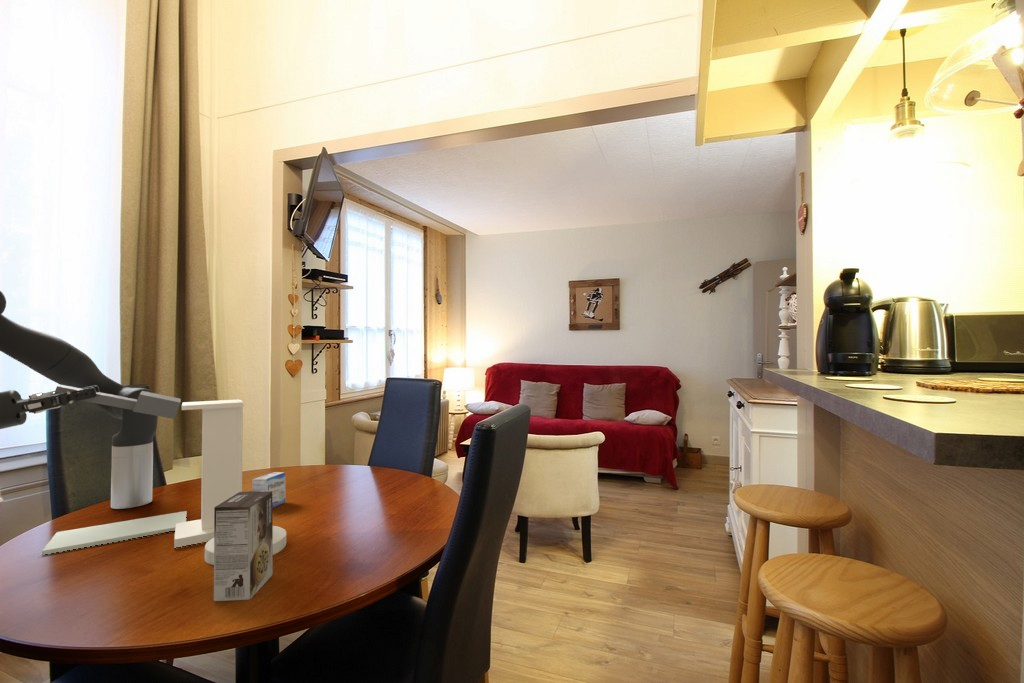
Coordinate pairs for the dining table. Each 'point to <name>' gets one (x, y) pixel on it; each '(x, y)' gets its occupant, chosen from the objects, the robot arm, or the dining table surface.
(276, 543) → the roll of tape
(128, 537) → the mat
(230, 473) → the white flanged bar
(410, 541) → the dining table surface
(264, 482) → the medicine box
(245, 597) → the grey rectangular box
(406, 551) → the dining table surface
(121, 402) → the gray flanged block
